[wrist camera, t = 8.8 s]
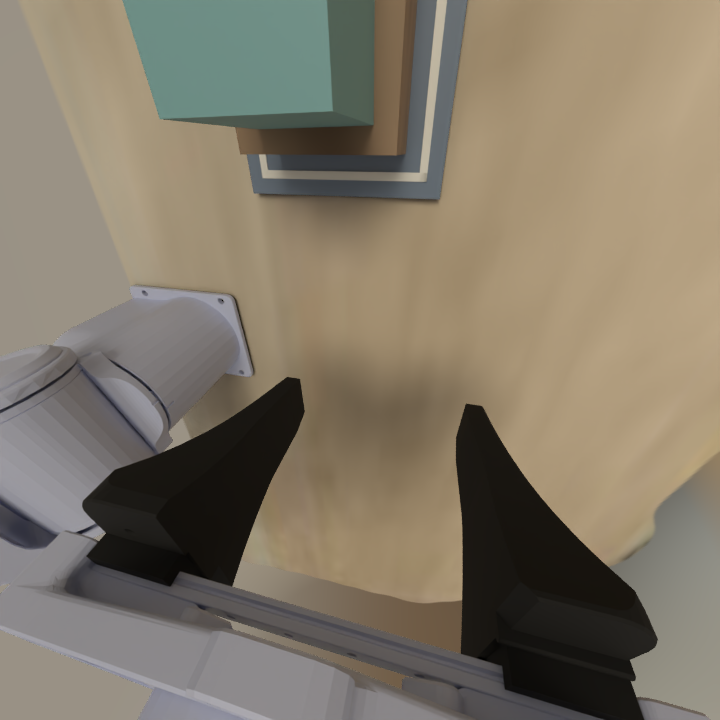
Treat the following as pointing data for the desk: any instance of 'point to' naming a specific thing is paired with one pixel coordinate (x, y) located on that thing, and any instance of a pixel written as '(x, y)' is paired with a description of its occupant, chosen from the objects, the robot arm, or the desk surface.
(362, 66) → the teal block
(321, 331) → the desk surface
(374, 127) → the walnut base block
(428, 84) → the mat
